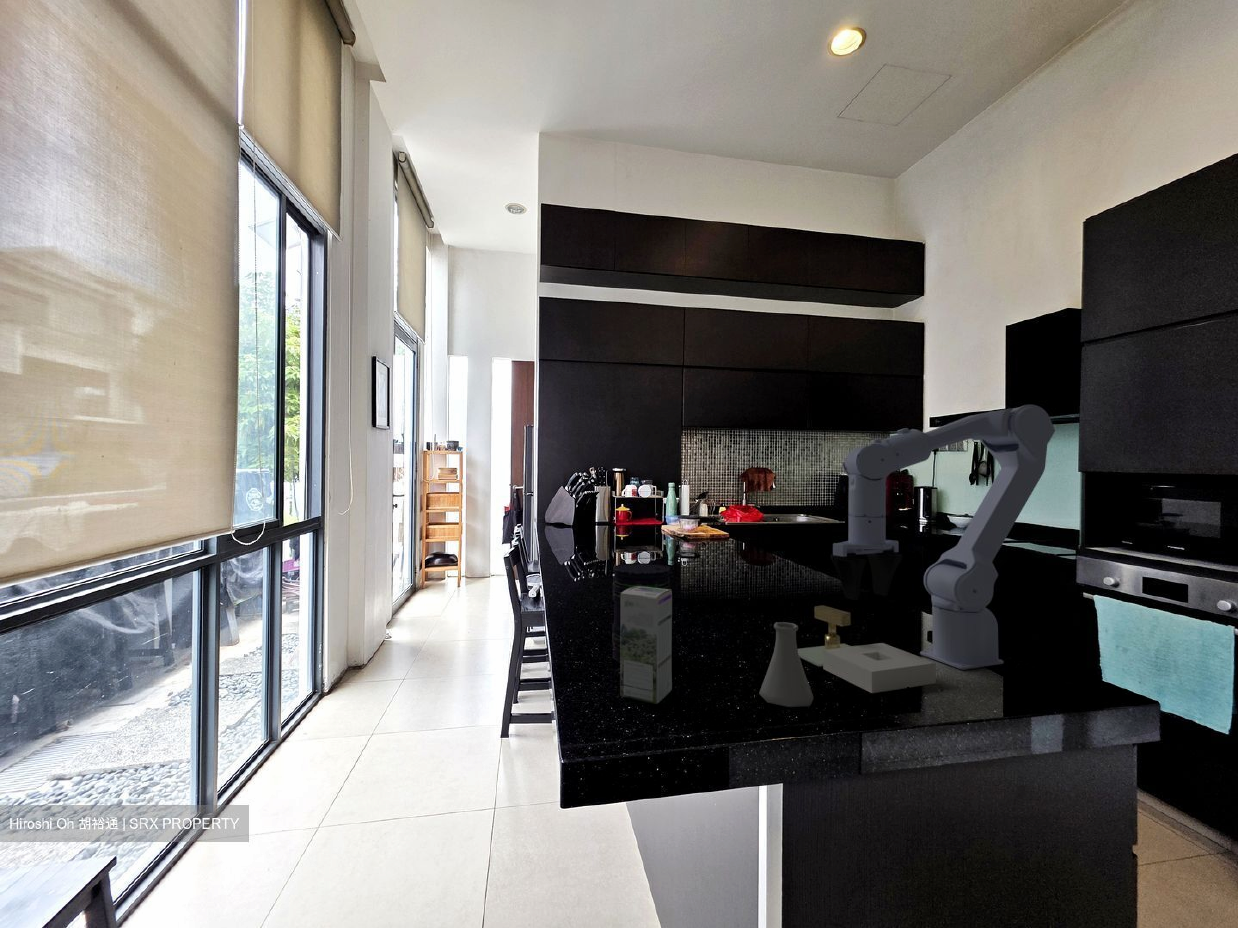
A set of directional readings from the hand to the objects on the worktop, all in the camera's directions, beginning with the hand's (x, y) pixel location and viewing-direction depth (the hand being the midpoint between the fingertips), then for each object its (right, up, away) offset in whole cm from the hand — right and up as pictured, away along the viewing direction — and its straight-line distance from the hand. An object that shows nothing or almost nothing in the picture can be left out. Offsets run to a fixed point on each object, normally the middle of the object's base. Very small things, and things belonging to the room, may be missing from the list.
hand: (866, 596), depth 89 cm
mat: (-5, -10, +2) cm, 12 cm away
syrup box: (-38, -10, -15) cm, 42 cm away
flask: (-19, -10, -16) cm, 27 cm away
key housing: (-2, -10, -8) cm, 13 cm away
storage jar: (-38, -10, 0) cm, 39 cm away
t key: (-5, -10, +1) cm, 11 cm away
